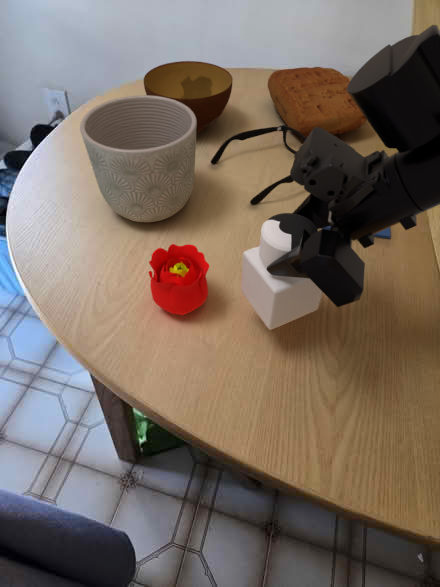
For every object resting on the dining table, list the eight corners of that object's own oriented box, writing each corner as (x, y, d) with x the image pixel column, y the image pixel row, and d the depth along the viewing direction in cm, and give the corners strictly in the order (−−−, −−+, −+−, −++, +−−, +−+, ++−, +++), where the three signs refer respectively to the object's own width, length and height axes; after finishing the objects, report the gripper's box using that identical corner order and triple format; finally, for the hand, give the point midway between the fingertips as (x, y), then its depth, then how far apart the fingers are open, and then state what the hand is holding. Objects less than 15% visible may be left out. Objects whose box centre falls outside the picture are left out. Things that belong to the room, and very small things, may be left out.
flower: (143, 314, 58) (135, 273, 52) (167, 275, 63) (162, 234, 57) (196, 330, 56) (195, 290, 50) (217, 289, 61) (217, 249, 55)
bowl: (180, 157, 84) (177, 107, 76) (133, 122, 93) (126, 74, 85) (247, 130, 91) (250, 82, 84) (198, 100, 100) (197, 54, 92)
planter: (158, 251, 66) (147, 165, 55) (79, 213, 72) (54, 128, 61) (217, 196, 76) (218, 113, 64) (143, 166, 82) (132, 85, 70)
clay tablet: (261, 101, 100) (265, 65, 94) (329, 94, 103) (336, 59, 97) (295, 150, 86) (301, 112, 80) (371, 141, 89) (383, 103, 83)
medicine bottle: (286, 272, 56) (299, 198, 47) (318, 310, 52) (339, 236, 43) (239, 291, 54) (243, 216, 45) (269, 332, 50) (280, 258, 41)
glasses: (332, 184, 80) (339, 160, 76) (253, 208, 74) (256, 183, 70) (282, 143, 89) (286, 120, 86) (207, 161, 83) (208, 137, 79)
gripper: (365, 64, 40) (244, 154, 50) (354, 174, 28) (199, 262, 38) (423, 152, 44) (301, 218, 55) (434, 278, 33) (277, 332, 43)
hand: (274, 251), depth 47 cm, fingers closed on medicine bottle, 6 cm apart
